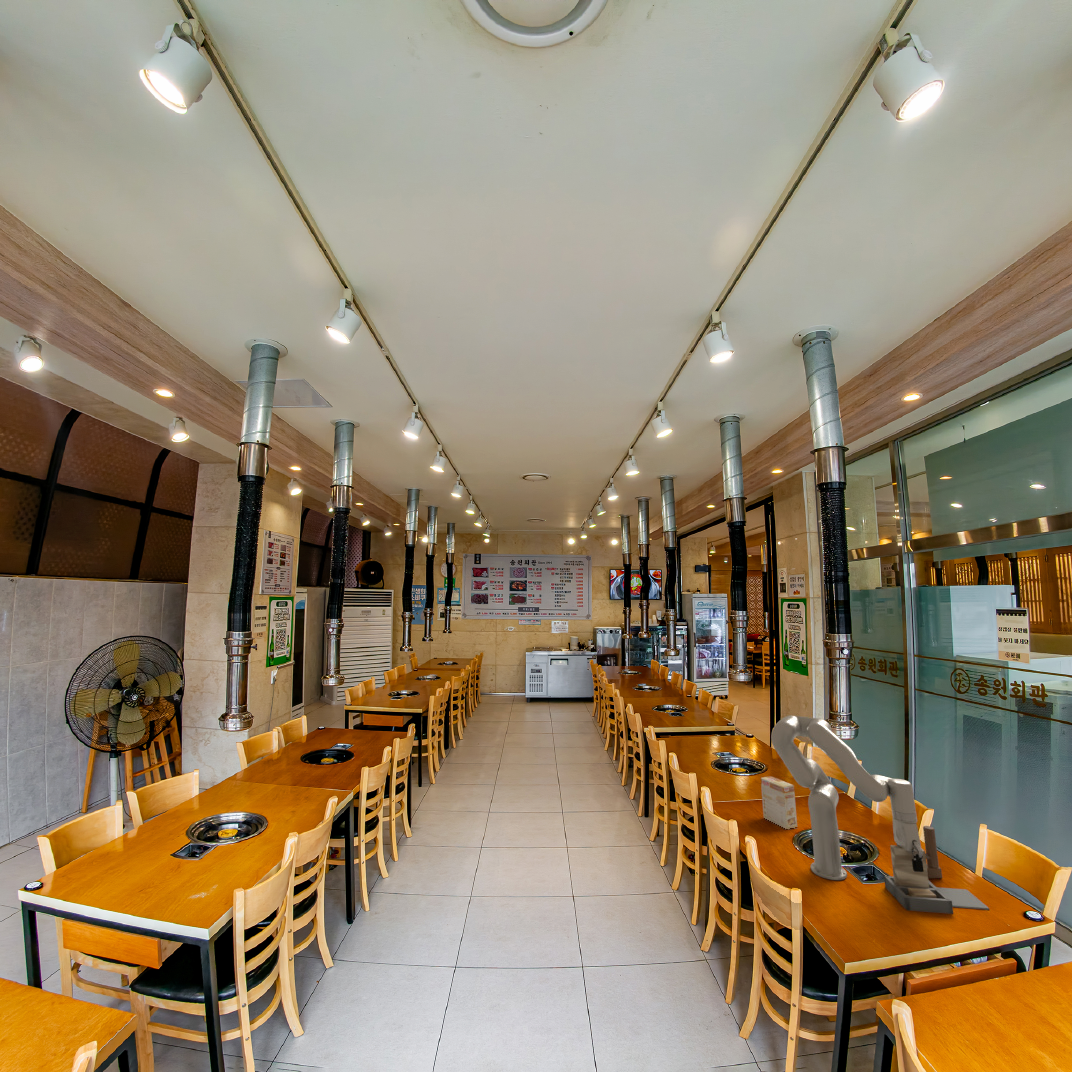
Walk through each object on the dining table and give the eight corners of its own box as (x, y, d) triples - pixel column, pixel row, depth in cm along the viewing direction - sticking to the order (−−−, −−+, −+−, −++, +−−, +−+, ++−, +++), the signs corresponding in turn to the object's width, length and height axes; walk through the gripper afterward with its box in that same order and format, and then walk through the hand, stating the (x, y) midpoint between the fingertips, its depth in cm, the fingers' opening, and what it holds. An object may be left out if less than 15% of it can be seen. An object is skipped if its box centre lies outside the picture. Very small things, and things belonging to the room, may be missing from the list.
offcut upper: (908, 895, 182) (907, 888, 183) (929, 896, 182) (928, 889, 182) (915, 902, 178) (914, 894, 179) (937, 903, 178) (936, 895, 178)
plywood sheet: (895, 891, 189) (890, 845, 191) (924, 893, 187) (919, 846, 190) (900, 896, 186) (895, 849, 188) (930, 898, 184) (925, 851, 186)
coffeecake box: (798, 827, 244) (794, 785, 246) (786, 830, 241) (783, 786, 244) (774, 816, 258) (771, 775, 260) (763, 818, 255) (760, 777, 258)
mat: (927, 888, 191) (927, 886, 191) (966, 890, 188) (966, 889, 188) (947, 906, 179) (947, 905, 179) (989, 909, 177) (989, 908, 177)
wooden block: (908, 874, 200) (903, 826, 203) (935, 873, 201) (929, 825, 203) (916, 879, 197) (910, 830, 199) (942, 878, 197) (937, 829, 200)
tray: (885, 887, 192) (884, 875, 192) (928, 890, 189) (926, 878, 190) (906, 910, 177) (905, 897, 178) (953, 913, 175) (951, 901, 175)
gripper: (881, 806, 199) (888, 853, 197) (905, 824, 182) (912, 876, 180) (902, 807, 198) (909, 854, 195) (928, 825, 181) (936, 877, 179)
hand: (911, 864), depth 188 cm, fingers open, 9 cm apart
